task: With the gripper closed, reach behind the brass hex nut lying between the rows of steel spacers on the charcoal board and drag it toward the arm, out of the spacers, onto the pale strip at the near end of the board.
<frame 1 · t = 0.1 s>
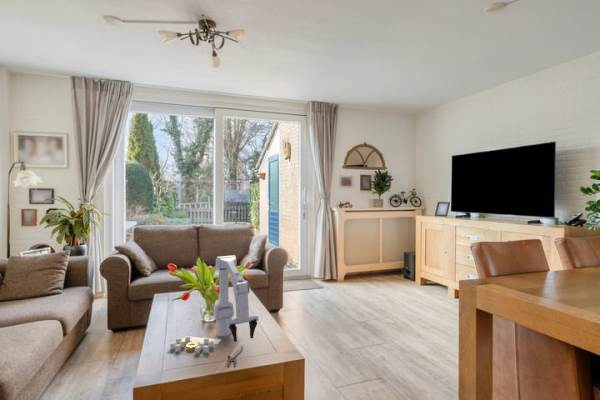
hand: (243, 339, 146), 11 cm above the table, tool pointing down, fingers open, 7 cm apart
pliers: (235, 356, 153), on the table
spacer board: (195, 348, 159), on the table
nut: (192, 348, 156), point 1 cm above the table, touching spacer board
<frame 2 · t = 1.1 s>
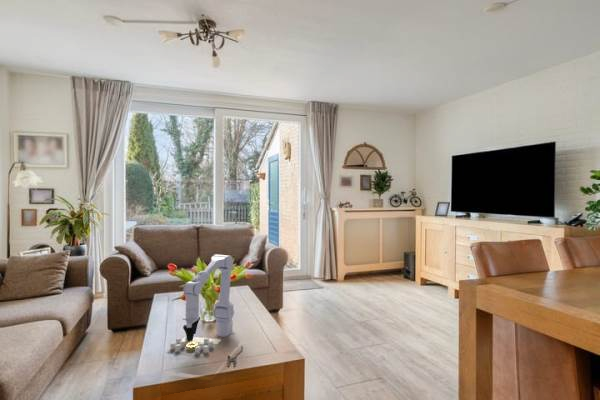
hand: (191, 337, 149), 10 cm above the table, tool pointing down, fingers open, 7 cm apart
nothing on the table moved.
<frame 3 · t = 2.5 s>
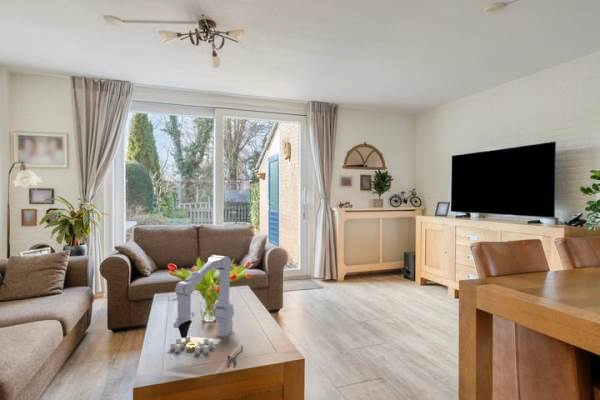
hand: (183, 337, 149), 10 cm above the table, tool pointing down, fingers closed
nothing on the table moved.
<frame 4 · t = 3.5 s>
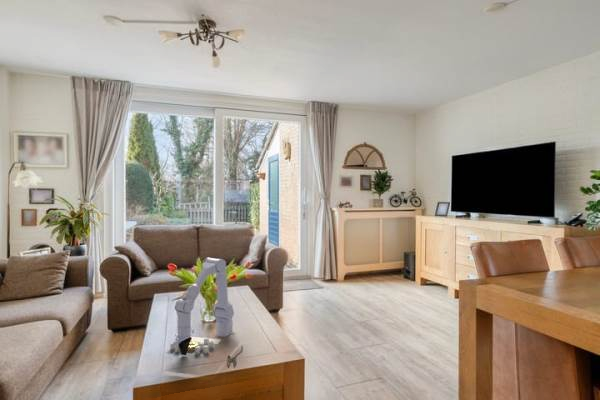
hand: (183, 354, 149), 2 cm above the table, tool pointing down, fingers closed
nothing on the table moved.
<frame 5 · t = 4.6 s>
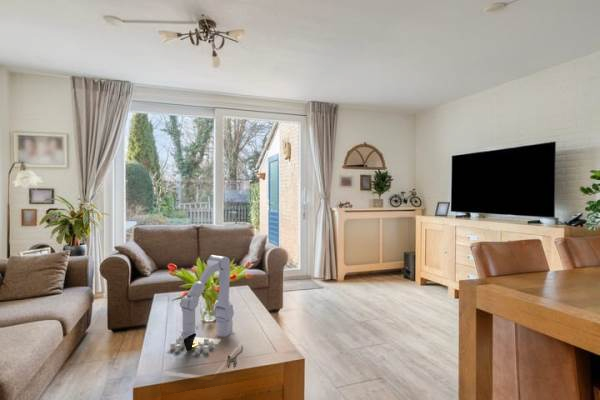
hand: (188, 350, 153), 2 cm above the table, tool pointing down, fingers closed
nut: (192, 348, 157), point 1 cm above the table, touching gripper, spacer board
everything else where it was.
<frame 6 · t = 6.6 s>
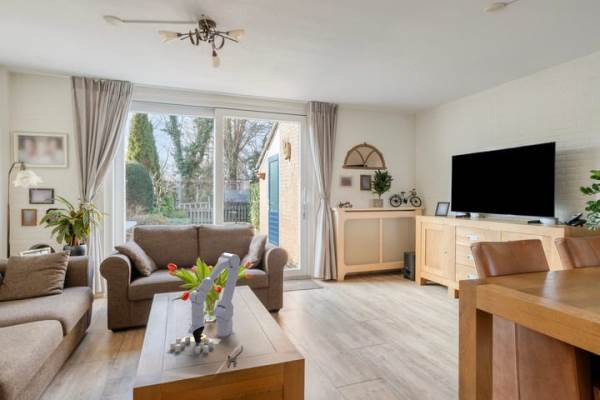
hand: (197, 341, 162), 2 cm above the table, tool pointing down, fingers closed
nut: (200, 340, 165), point 1 cm above the table, touching gripper, spacer board
everything else where it was.
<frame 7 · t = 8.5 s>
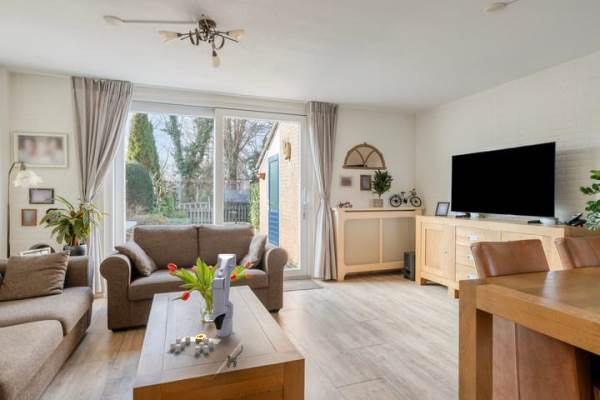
hand: (218, 329, 160), 9 cm above the table, tool pointing down, fingers closed
nut: (200, 340, 165), point 1 cm above the table, touching spacer board
everything else where it was.
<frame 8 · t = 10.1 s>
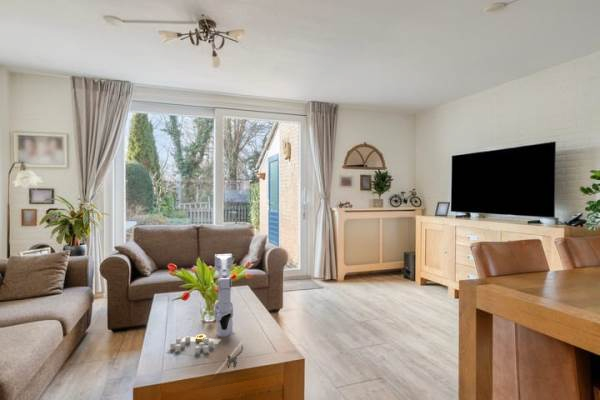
hand: (224, 329, 160), 9 cm above the table, tool pointing down, fingers closed
nothing on the table moved.
at the end: nut 0.3 cm from the target spot, point 1.2 cm above the table; nut tilted 0°; nut moved 9.0 cm from its start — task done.
